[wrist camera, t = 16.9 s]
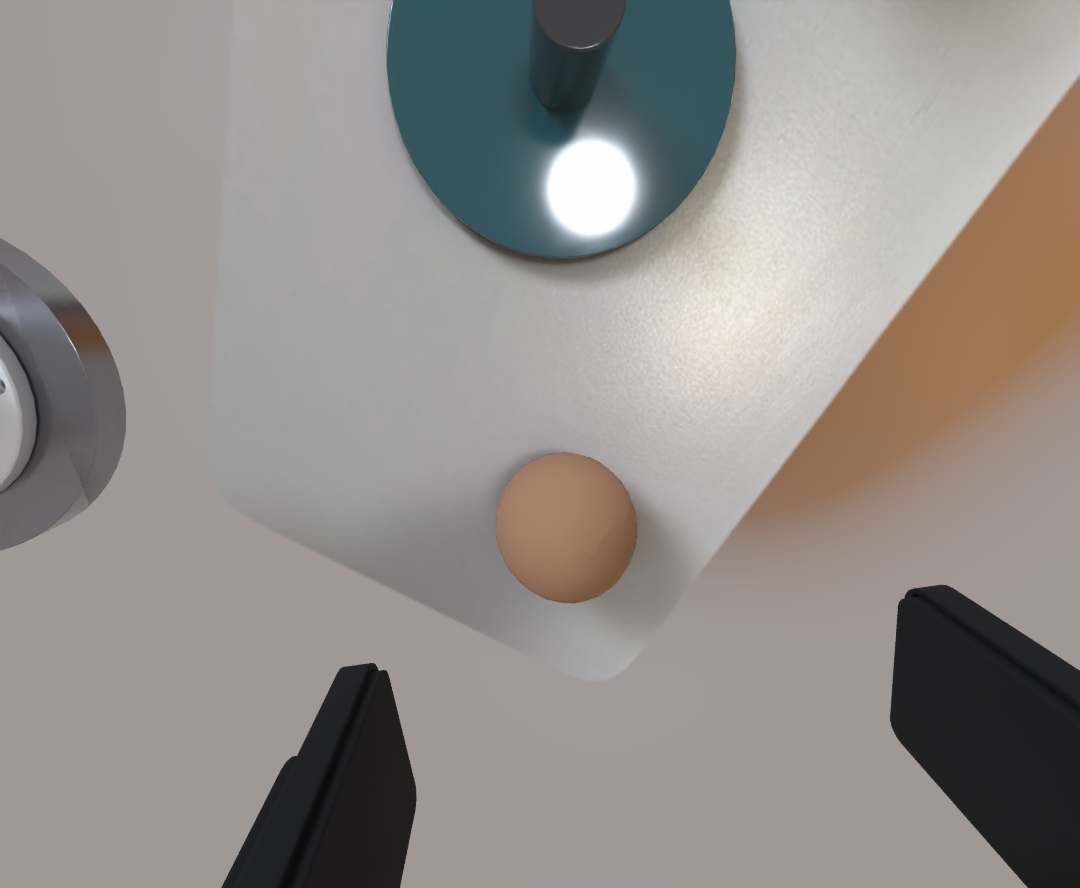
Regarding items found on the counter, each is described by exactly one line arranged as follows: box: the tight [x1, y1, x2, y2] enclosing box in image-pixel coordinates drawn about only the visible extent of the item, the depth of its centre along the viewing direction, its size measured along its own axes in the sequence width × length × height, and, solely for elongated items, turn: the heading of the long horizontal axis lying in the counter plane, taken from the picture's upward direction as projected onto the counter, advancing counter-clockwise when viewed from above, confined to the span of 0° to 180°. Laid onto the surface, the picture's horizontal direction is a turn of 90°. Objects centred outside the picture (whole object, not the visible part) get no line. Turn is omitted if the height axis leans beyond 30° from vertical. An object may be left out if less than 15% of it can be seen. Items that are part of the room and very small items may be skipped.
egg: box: [496, 453, 637, 603], centre depth 23 cm, size 6×6×8 cm
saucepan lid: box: [387, 0, 736, 259], centre depth 19 cm, size 15×15×7 cm
